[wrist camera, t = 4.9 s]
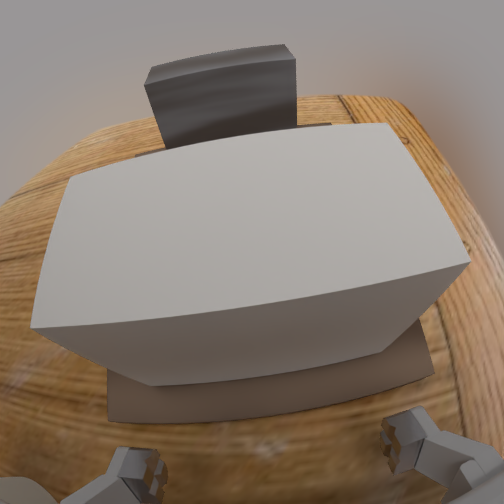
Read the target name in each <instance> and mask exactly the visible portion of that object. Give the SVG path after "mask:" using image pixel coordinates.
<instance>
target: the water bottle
mask: <svg viewBox="0 0 504 504" xmlns="http://www.w3.org/2000/svg"><path fill="white" fill-rule="evenodd" d="M0 499H2V500H3V501H5V502H7V503H9V504H58V503H57V502H56V501H55V499H54V498H53V497H52V496H51V495H50V494H49V493H48V492H47V491H46V490H45V489H44V488H43V487H42V486H41V485H39V484H38V483H36V482H35V481H33V480H31V479H29V478H26V477H0Z"/></svg>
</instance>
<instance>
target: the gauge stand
mask: <svg viewBox="0 0 504 504" xmlns="http://www.w3.org/2000/svg"><path fill="white" fill-rule="evenodd" d="M144 87H145V90H146V92H147V95H148V98H149V101H150V104H151V107H152V110H153V113H154V116H155V119H156V121H157V124H158V127H159V130H160V133H161V136H162V138H163V141H164V144H165V148H161V149H157V150H152V151H148V152H144V153H140V154H137V155H135V158H136V157H140V156H144V155H148V154H152V153H156V152H160V151H164V150H169V149H173V148H178V147H182V146H187V145H192V144H197V143H202V142H207V141H213V140H218V139H224V138H230V137H236V136H242V135H249V134H256V133H263V132H270V131H278V130H286V129H296V128H305V127H316V126H329V125H332V124H331V123H319V124H307V125H297V94H296V59H295V58H294V56H293V55H292V54H291V53H290V51H289V50H288V49H287V47H286V46H285V45H284V44H282V45H270V46H260V47H251V48H243V49H236V50H230V51H223V52H217V53H211V54H206V55H200V56H196V57H191V58H186V59H182V60H177V61H173V62H169V63H165V64H162V65H157V66H154V67H152V68H151V70H150V72H149V74H148V77H147V80H146V82H145V84H144ZM432 374H435V373H434V369H433V365H432V361H431V357H430V354H429V350H428V347H427V343H426V340H425V336H424V333H423V330H422V326H421V323H420V320H419V318H418V319H417V320H416V321H415V322H414V323H413V324H412V325H411V326H410V327H409V328H407V329H406V330H405V331H404V332H403V333H402V334H401V335H400V336H399V337H398V338H397V339H395V340H394V341H393V342H392V343H391V344H390V345H389V346H388V347H386V348H385V349H384V350H383V351H382V352H379V353H375V354H371V355H368V356H364V357H359V358H355V359H351V360H347V361H342V362H338V363H333V364H329V365H324V366H319V367H314V368H309V369H303V370H298V371H292V372H286V373H280V374H274V375H267V376H260V377H253V378H246V379H237V380H229V381H219V382H209V383H197V384H183V385H165V386H149V385H146V384H143V383H141V382H138V381H136V380H133V379H131V378H128V377H126V376H124V375H121V374H119V373H117V372H114V371H112V370H110V369H108V368H107V405H108V421H110V422H118V423H136V424H185V423H207V422H221V421H233V420H243V419H252V418H260V417H267V416H274V415H281V414H287V413H293V412H299V411H304V410H310V409H315V408H320V407H325V406H329V405H334V404H338V403H342V402H347V401H351V400H355V399H358V398H362V397H366V396H370V395H373V394H377V393H380V392H384V391H387V390H390V389H394V388H397V387H400V386H403V385H406V384H409V383H412V382H415V381H418V380H421V379H423V378H426V377H428V376H430V375H432Z"/></svg>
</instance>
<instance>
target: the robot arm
mask: <svg viewBox="0 0 504 504" xmlns="http://www.w3.org/2000/svg"><path fill="white" fill-rule="evenodd" d="M381 426H382V428H383V431H382V432H381V433H380V447H381V450H382V452H383V454H384V455H385V456H387V457H389V460H388V465H389V467H390V469H391V471H392V474H393V476H394V475H397V474H400V473H403V472H405V471H408V470H411V469H414V468H415V470H417V471H418V472H420V473H422V474H423V475H425V476H427V477H429V478H430V479H432V480H434V481H436V482H438V483H439V484H441V485H443V486H445V487H447V488H448V490H447V492H446V493H445V495H444V497H443V499H442V500H441V503H442V504H504V460H503V459H502V457H501V456H500V455H499V454H498V452H497V451H496V450H495V449H494V447H493V446H490V445H487V444H484V443H481V442H477V441H474V440H471V439H468V438H465V437H462V436H459V435H456V434H454V433H451V432H448V431H445V430H443V431H440V430H439V428H438V427H437V426H436V424H435V423H434V421H433V420H432V419H431V417H430V416H429V415H428V413H427V412H426V411H425V409H424V408H423V407H422V406H417V407H415V408H412V409H409V410H406V411H403V412H400V413H397V414H394V415H392V416H389V417H385V418H383V420H382V424H381ZM159 457H160V454H159V452H158V451H157V449H148V448H135V447H124V446H119V447H118V448H117V449H116V451H115V453H114V455H113V458H112V460H111V462H110V464H109V467H108V469H107V471H106V474H105V475H100V476H99V477H97V478H96V479H94V480H93V481H91V482H90V483H88V484H87V485H85V486H84V487H82V488H81V489H79V490H78V491H76V492H74V493H73V494H71V495H70V496H68V497H66V498H65V499H63V500H61V502H60V504H141V503H144V504H162V502H163V497H164V493H165V492H164V490H163V488H162V487H163V486H164V485H165V484H167V480H168V470H167V467H166V465H165V463H164V462H163V461H162V460H160V459H159ZM0 504H9V503H7V502H5V501H3V500H2V499H0Z"/></svg>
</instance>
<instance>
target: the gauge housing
mask: <svg viewBox="0 0 504 504" xmlns="http://www.w3.org/2000/svg"><path fill="white" fill-rule="evenodd" d="M470 262H471V260H470V257H469V255H468V253H467V251H466V249H465V247H464V245H463V243H462V241H461V239H460V237H459V235H458V233H457V231H456V229H455V227H454V225H453V223H452V222H451V220H450V218H449V216H448V214H447V212H446V211H445V209H444V207H443V205H442V204H441V202H440V200H439V199H438V197H437V195H436V194H435V192H434V190H433V189H432V187H431V185H430V184H429V182H428V180H427V179H426V177H425V176H424V174H423V173H422V171H421V170H420V168H419V167H418V165H417V164H416V162H415V161H414V159H413V158H412V156H411V155H410V153H409V152H408V150H407V149H406V148H405V146H404V145H403V143H402V142H401V141H400V139H399V138H398V137H397V135H396V134H395V133H394V131H393V130H392V129H391V127H390V126H389V125H388V123H363V124H344V125H329V126H316V127H305V128H296V129H286V130H278V131H270V132H263V133H256V134H249V135H242V136H236V137H230V138H224V139H218V140H213V141H207V142H202V143H197V144H192V145H187V146H182V147H178V148H173V149H169V150H164V151H160V152H156V153H152V154H148V155H144V156H140V157H136V158H132V159H128V160H125V161H121V162H117V163H114V164H110V165H107V166H104V167H100V168H97V169H94V170H90V171H87V172H84V173H81V174H78V175H75V176H72V177H70V179H69V182H68V185H67V187H66V190H65V193H64V195H63V198H62V201H61V204H60V207H59V210H58V213H57V216H56V219H55V222H54V225H53V228H52V231H51V235H50V238H49V242H48V245H47V249H46V253H45V256H44V260H43V264H42V268H41V273H40V277H39V281H38V286H37V291H36V296H35V301H34V307H33V312H32V318H31V325H30V329H32V330H34V331H35V332H37V333H39V334H41V335H42V336H44V337H46V338H48V339H49V340H51V341H53V342H55V343H57V344H59V345H60V346H62V347H64V348H66V349H68V350H70V351H72V352H74V353H76V354H78V355H80V356H82V357H84V358H86V359H88V360H90V361H92V362H94V363H97V364H99V365H101V366H103V367H105V368H108V369H110V370H112V371H114V372H117V373H119V374H121V375H124V376H126V377H128V378H131V379H133V380H136V381H138V382H141V383H143V384H146V385H149V386H165V385H183V384H197V383H209V382H219V381H229V380H237V379H246V378H253V377H260V376H267V375H274V374H280V373H286V372H292V371H298V370H303V369H309V368H314V367H319V366H324V365H329V364H333V363H338V362H342V361H347V360H351V359H355V358H359V357H364V356H368V355H371V354H375V353H379V352H382V351H383V350H384V349H385V348H386V347H388V346H389V345H390V344H391V343H392V342H393V341H394V340H395V339H397V338H398V337H399V336H400V335H401V334H402V333H403V332H404V331H405V330H406V329H407V328H409V327H410V326H411V325H412V324H413V323H414V322H415V321H416V320H417V319H418V318H419V317H420V316H421V315H422V314H423V313H424V312H425V311H426V310H427V309H428V308H429V307H430V306H431V305H432V304H433V303H434V302H435V301H436V300H437V299H438V298H439V297H440V296H441V295H442V294H443V293H444V291H445V290H446V289H447V288H448V287H449V286H450V285H451V284H452V283H453V282H454V281H455V279H456V278H457V277H458V276H459V275H460V274H461V273H462V272H463V270H464V269H465V268H466V267H467V266H468V265H469V263H470Z"/></svg>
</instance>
